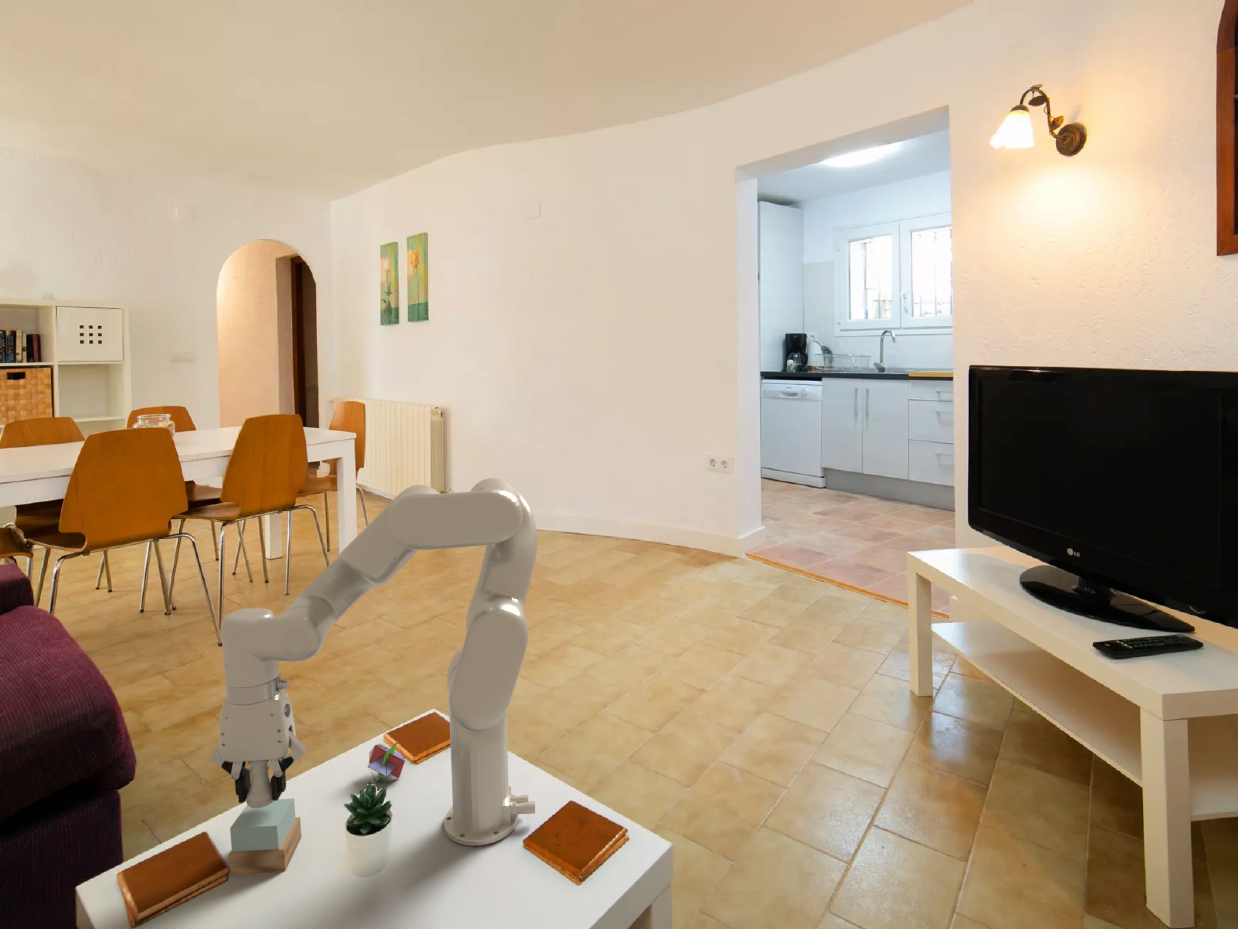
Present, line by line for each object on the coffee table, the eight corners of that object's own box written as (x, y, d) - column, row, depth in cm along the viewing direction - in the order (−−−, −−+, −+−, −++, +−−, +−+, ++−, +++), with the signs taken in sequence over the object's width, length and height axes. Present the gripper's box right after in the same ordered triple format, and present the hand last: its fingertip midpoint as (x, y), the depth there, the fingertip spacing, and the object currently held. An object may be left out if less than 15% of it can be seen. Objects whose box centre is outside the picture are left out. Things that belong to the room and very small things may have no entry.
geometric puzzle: (421, 760, 136) (397, 727, 136) (402, 780, 129) (377, 745, 130) (395, 777, 138) (372, 744, 138) (376, 798, 131) (351, 763, 131)
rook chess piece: (264, 811, 109) (261, 763, 108) (239, 807, 110) (236, 760, 109) (283, 794, 113) (280, 748, 112) (259, 791, 114) (256, 745, 113)
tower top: (295, 820, 116) (293, 798, 115) (278, 849, 109) (276, 825, 108) (251, 823, 115) (249, 800, 114) (232, 852, 108) (230, 828, 108)
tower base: (301, 839, 117) (300, 817, 116) (285, 872, 109) (283, 849, 109) (251, 843, 116) (249, 821, 115) (231, 877, 108) (229, 854, 108)
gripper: (317, 675, 114) (323, 779, 116) (207, 680, 112) (216, 786, 114) (302, 696, 106) (309, 807, 109) (184, 702, 104) (194, 815, 107)
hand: (261, 795), depth 111 cm, fingers closed on rook chess piece, 4 cm apart
